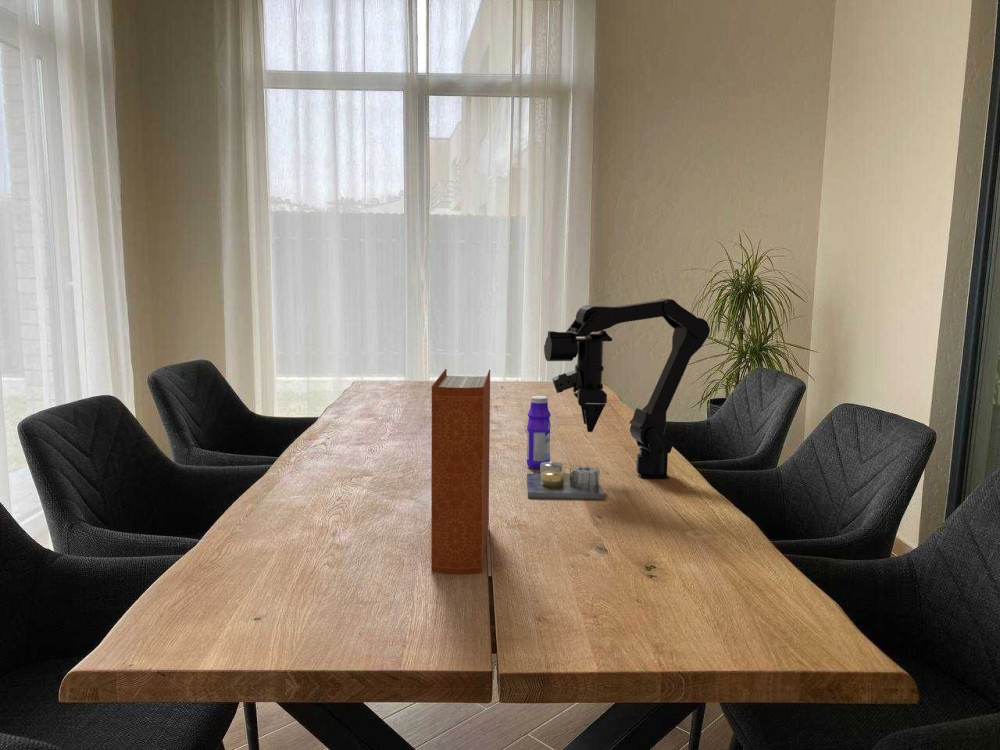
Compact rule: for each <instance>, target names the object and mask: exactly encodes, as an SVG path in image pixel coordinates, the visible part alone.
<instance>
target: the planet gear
mask: <svg viewBox="0 0 1000 750" xmlns="http://www.w3.org/2000/svg"><path fill="white" fill-rule="evenodd" d="M569 474H570V486H572V487H573V486H575V487H578V488H581V489H582V488H589V489H592V488H593V487H599V484H600V468H598V467H593V466H589V465H586V466H585V465H584V466H583V465H582V466H581V465H576V466H574V467H573V466H571V467H570V468H569Z"/></svg>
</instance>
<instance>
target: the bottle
mask: <svg viewBox="0 0 1000 750" xmlns="http://www.w3.org/2000/svg"><path fill="white" fill-rule="evenodd" d="M548 400H549V399H548V396H546V395H545V396H544V395H533V396H531V397H530V408H529V410H528V413H527V416H528V420H527V427H526V430H527V434H526V435H527V436H526V438H527V442H526V443H527V445H526V465H527V467H528V468H530V469H535V470H536V469H538V470H540V464H541V463H542V462H551V427H552V426H551V425H552V424H551V420H550V419H551V416H552V414H551V412H550V410H549V404H548V403H549V402H548Z"/></svg>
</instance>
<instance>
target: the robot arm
mask: <svg viewBox="0 0 1000 750" xmlns="http://www.w3.org/2000/svg"><path fill="white" fill-rule="evenodd" d="M661 317H662V318H663V319H664V321H665V322H666V324H668V325H669V326H670V327H671V328H672V329H674V330H673V333H672V337H671V341H672V344H671V351H670V354H669V356H668V358H667V360H666V362H665V365H664V367H663V370H662V371H661V374H660V376H659V378H658V381H657V383H656V385H655V386H654V390H653V392H652V394H651V396H650V398H649V400H648V402H647V404H646V405H645V406H644V407H643V408H642V409H641V408H638V407H636V408H635V410H634V413H633V416H632V419H631V420H630V421H629V423H628V424H630V427H629V433H630V436H631V437H632V438H633V440H635V443H636V445H637V447H639V449H638V451H639V452H638V453H637V454H636V465H635V469H636V470H635V471H636V472H637V474H638V476H639V477H640V478H641V479H642V478H643V479H645V478H646V479H647V478H648V479H669V477H670V476H669V474H668V458H669V454H670V453H671V452H672V449H673V445H674V444H673V443H672V442H671V441H670V440H669V439H668V438H667V437H666V435H665V431H666V427H667V412H668V409H669V407H670V405H671V403H672V400H673V398H674V396H675V394H676V391H677V389H678V387H679V385H680V383H681V381H682V379H683V376H684V373H685V371H686V369H687V366H689V362H690V360H691V358H692V357H693V356H694V355H695V354H696V353H697V352H698V351H699V350H700V349H702V347H703V345H704V344H705V342H706V341H707V340H708V338H709V336H710V333H711V328H710V325H709V322H707V321H706V319H704V318H701V317H697V316H696V315H695V314H693V313H691V311H689V310H688V309H686V308H684V307H683V306H682V305H680V304H678V302H676V300H674V299H673V298H660V299H658V300H651V301H643V302H638V303H637V302H636V303H631V304H624V305H616V306H612V305H610V306H608V305H589V304H588V305H583V306H581V307H580V308H579V309H578V310H577V311H576V315H575V319H574V321H572V323H571V325H570V326H569V327H568V329H566V331H553V330H548V331H547V336H546V339H545V342H544V344H543V352H544V358H545V360H546V362H572V361H573V360H574V359H575V358H577V361H576V362H577V363H576V364H575V365H574V370H572V371H568V372H563V373H562V374H557V375H556V376H553V377H552V378H551V380H552V383H553V385H554V388H555V391H556V394H561V393H563V392H564V391H566V390H569V389H572V393H573V395H574V396H575V398H576V399H577V404H578V406H579V407H580V410H581V414H582V420H583V424H584V425H586V430H587V431H586V432H587V433H593V432H594V429H595V428H596V425H597V423H598V421H599V419H600V417H601V415H602V412H603V410H604V408H605V406H606V404H607V403H608V402H607V401H608V394H607V393H606V391H604V390H603V388H604V384H603V371H604V366H603V363H604V362H603V360H604V359H603V357H604V342H612V341H613V338H612V337H611V336H610V335H609V334H608V333H607V331H606V329H610V328H612V327H614V326H616V325H619V324H622V323H627V322H628V323H629V322H635V321H641V320H648V319H649V320H650V319H654V318H661Z"/></svg>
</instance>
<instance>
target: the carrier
mask: <svg viewBox="0 0 1000 750" xmlns="http://www.w3.org/2000/svg"><path fill="white" fill-rule="evenodd" d="M539 471H540V473H526V484H527V486H526V488H527V498H528V499H550V500H551V499H552V500H553V499H555V500H557V499H558V500H560V499H561V500H562V499H563V500H564V499H565V500H572V499H573V500H604V498H605V497H604V491H603V489H602V486H601V484H600V483H599V487H593V488H592V489H589V488H582V489H581V488H578V487H575V486H573V487H572V486H570V473H565V472H563V463H561V462H558V461H550V462H542V463H541V464H540V469H539Z"/></svg>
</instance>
